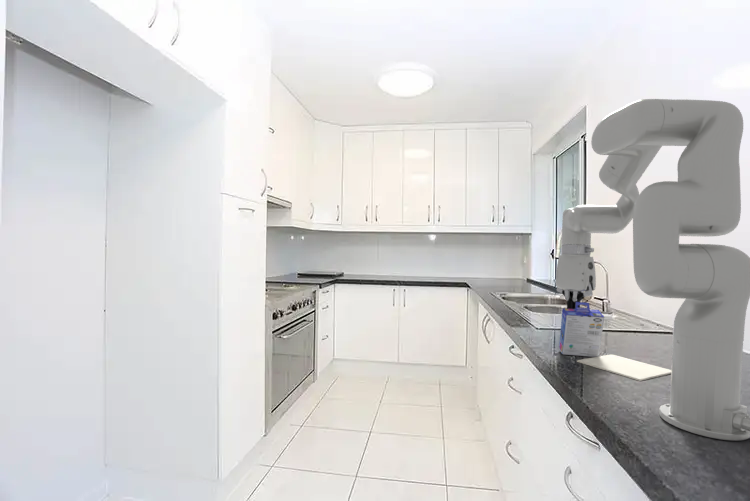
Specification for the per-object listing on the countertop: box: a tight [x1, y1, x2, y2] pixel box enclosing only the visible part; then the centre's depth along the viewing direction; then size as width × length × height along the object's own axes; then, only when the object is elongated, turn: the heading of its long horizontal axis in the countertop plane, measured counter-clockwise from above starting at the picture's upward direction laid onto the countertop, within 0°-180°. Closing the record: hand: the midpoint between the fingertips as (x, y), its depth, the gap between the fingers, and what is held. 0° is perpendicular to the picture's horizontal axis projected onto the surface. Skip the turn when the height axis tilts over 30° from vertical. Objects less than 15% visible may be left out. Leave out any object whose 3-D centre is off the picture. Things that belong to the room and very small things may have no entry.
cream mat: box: [576, 354, 671, 382], centre depth 104 cm, size 16×15×1 cm
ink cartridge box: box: [558, 301, 605, 358], centre depth 114 cm, size 10×6×14 cm, turn 79°
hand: (573, 314), depth 117 cm, fingers closed
